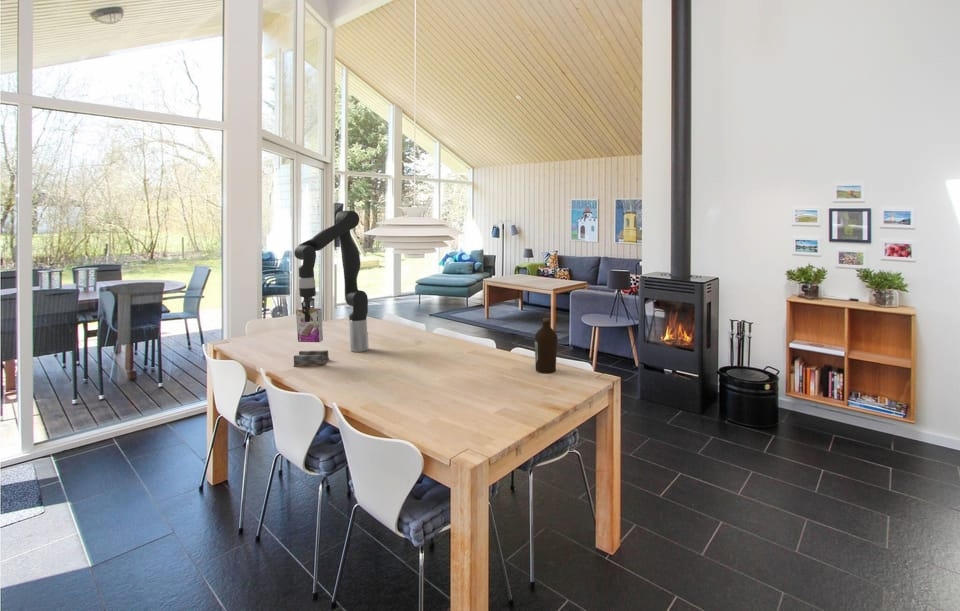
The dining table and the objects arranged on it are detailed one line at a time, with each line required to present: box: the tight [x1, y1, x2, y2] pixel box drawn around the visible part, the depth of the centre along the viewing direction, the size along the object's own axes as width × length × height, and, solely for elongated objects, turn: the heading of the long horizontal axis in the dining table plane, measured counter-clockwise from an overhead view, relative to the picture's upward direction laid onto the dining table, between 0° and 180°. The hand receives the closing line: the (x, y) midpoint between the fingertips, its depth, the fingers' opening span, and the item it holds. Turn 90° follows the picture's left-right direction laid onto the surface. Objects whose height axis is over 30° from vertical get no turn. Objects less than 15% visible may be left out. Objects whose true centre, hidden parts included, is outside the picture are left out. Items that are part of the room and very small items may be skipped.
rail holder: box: [293, 349, 330, 368], centre depth 249 cm, size 14×12×5 cm
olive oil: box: [534, 317, 559, 374], centre depth 233 cm, size 11×11×25 cm
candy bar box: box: [295, 307, 324, 343], centre depth 247 cm, size 11×5×16 cm, turn 84°
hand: (309, 320), depth 246 cm, fingers closed on candy bar box, 5 cm apart
